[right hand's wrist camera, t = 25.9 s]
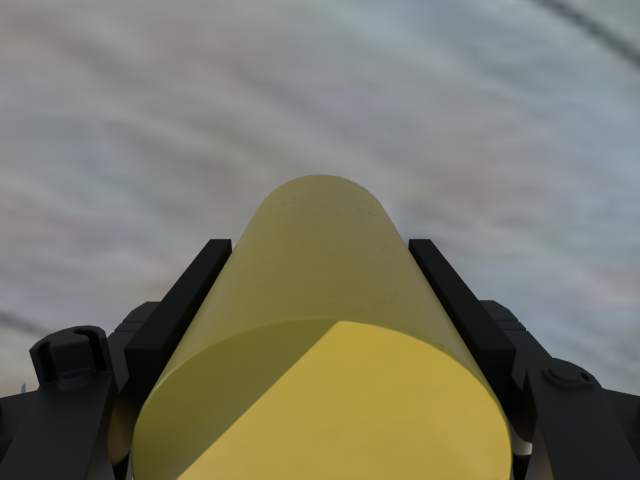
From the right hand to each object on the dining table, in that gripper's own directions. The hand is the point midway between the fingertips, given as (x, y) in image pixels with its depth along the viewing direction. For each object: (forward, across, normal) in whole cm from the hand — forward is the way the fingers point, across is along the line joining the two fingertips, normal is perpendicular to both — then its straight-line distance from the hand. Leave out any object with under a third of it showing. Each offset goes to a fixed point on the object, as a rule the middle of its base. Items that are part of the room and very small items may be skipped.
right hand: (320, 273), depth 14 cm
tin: (+3, 0, 0) cm, 3 cm away
